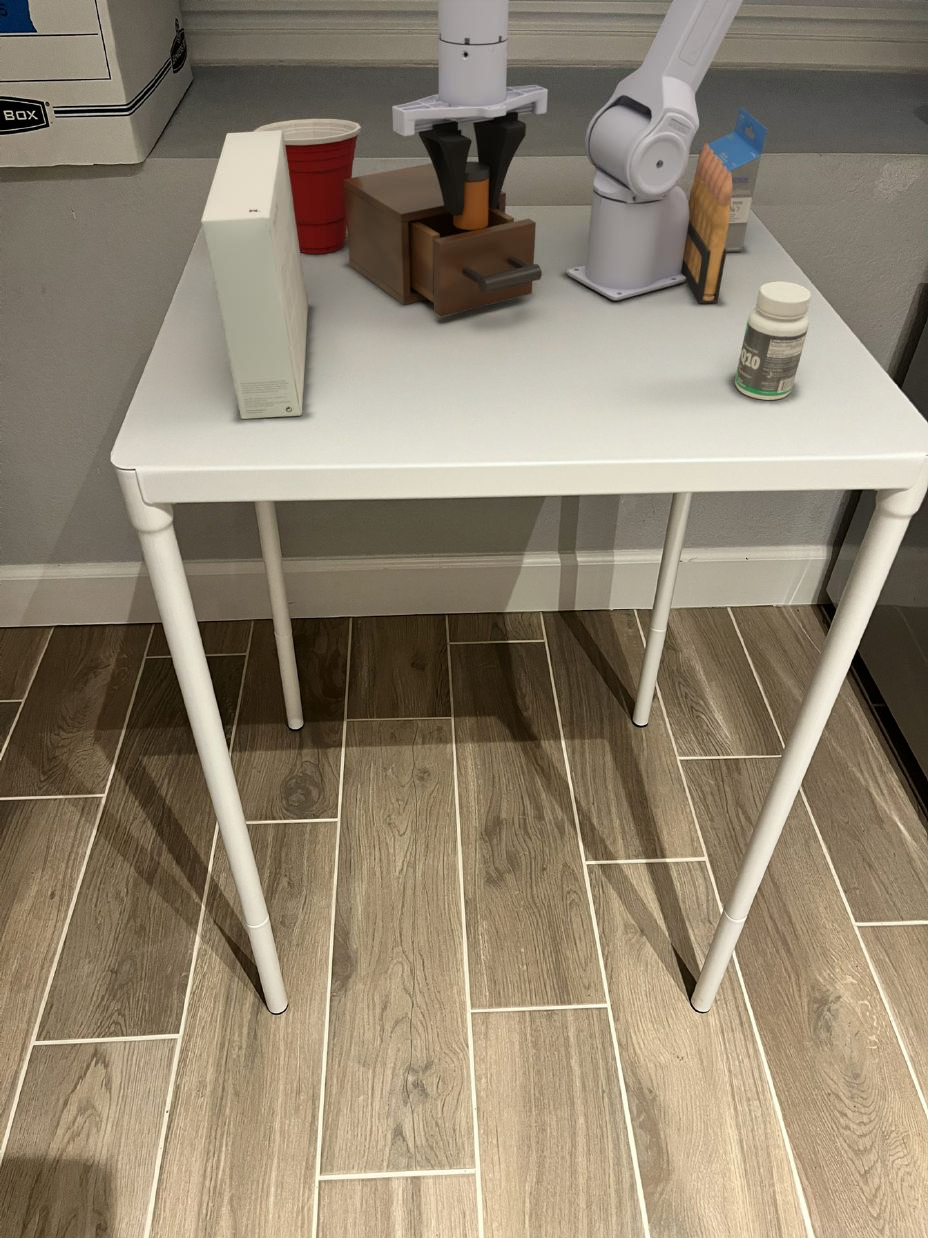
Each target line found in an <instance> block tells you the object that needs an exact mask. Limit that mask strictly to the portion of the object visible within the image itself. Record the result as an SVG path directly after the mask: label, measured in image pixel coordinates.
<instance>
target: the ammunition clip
mask: <svg viewBox="0 0 928 1238" xmlns="http://www.w3.org/2000/svg"><path fill="white" fill-rule="evenodd" d="M708 144H709V143H708V142H705V143H704V145H703V146H702V147H703V149H702V151H701V154H700V156H699V155H698V159H699V160H697V164H696V170H695V173H694V178H693V183H692V185H691V188H690V193H689V198H688V204H689V212H690V217H689V225H688V231H687V238H686V244H685V250H684V256H683V263H682V269H681V275H683V276H685V277H686V281H685V282H686V283H687V285H688V287H689V288H690V290H691V292H692V294H693V296H694V298H695V300H696V301H697V303H698V304H718V301H719V297H720V291H721V285H722V284H721V283H722V279H723V275H724V274H723V273H724V268H725V262H726V256H727V253H726V252H727V251H726V249H725V242H726V237H727V231H728V226H729V211H730V202H731V196H732V175H731V172H730V171H729V172H728V173H727V168H726V166H725V165H724V166H722V161H721V160H718V158H717V154H714V155H713V150H712V148H710V149H709V146H708Z"/></svg>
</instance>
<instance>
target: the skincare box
mask: <svg viewBox="0 0 928 1238" xmlns="http://www.w3.org/2000/svg"><path fill="white" fill-rule="evenodd" d="M200 223H201V228H202V232H203V237H204V242H205V247H206V252H207V256H208V262H209V266H210V272H211V276H212V281H213V287H214V292H215V296H216V302H217V306H218V310H219V317H220V320H221V325H222V330H223V335H224V338H225V339H224V340H225V346H226V349H227V355H228V360H229V365H230V371H231V375H232V380H233V386H234V390H235V395H236V399H237V404H238V409H239V415H240V419H241V420H243V419H244V420H245V419H246V420H247V419H262V418H263V419H264V418H276V417H277V418H278V417H299V416H301V415H302V414H303V399H304V398H303V397H304V387H305V386H304V385H305V379H304V378H305V369H306V367H305V366H306V349H307V330H308V315H309V314H308V313H309V301H308V295H307V294H308V293H307V289H306V282H305V276H304V270H303V263H302V256H301V252H300V249H299V242H298V235H297V228H296V221H295V214H294V206H293V197H292V190H291V183H290V176H289V169H288V162H287V155H286V148H285V141H284V134H283V131H282V130H277V131H258V132H254V131H243V132H241V131H240V132H227V133H226V135H225V139H224V142H223V145H222V149H221V151H220V156H219V159H218V164H217V165H216V170H215V173H214V176H213V180H212V183H211V187H210V190H209V193H208V196H207V200H206V203H205V206H204V210H203V213H202V216H201V219H200Z"/></svg>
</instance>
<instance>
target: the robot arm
mask: <svg viewBox="0 0 928 1238" xmlns="http://www.w3.org/2000/svg"><path fill="white" fill-rule="evenodd" d="M743 2H744V0H672V2H671V4H670V6H669V8H668V10H667V12H666V14H665V16H664V19H663V21H662V22H661V25H660V27H659V29H658V30H657V33H656V34H655V37H654V39H653V41H652V44H651V45H650V47H649V49H648V52H647V54H646V56H645V57H644V60H643V62H642V64H641V66H639V68H637V69H636V70H634V71H633V72H632V73H630V74H629V75H627V76H626V77H625V78H623V79H622V80H621V81H620V82H618V84H617V85H616V88H615V89H614V92H613V93H612V95H611V97H610V99H609V100H608V101H607V102H606V104H604V106H603V107H601V108H600V109H599V110H598V111H597V112H596V113H595V114H594V116H593V117H592V119H591V120H590V121H589V124H588V126H587V129H586V132H585V137H584V149H585V150H584V151H585V154H586V157H587V159H588V161H589V162H590V164H591V165H592V166H593V167H594V171H593V182H592V183H593V184H592V196H591V197H592V198H591V206H590V207H591V208H590V217H589V219H590V220H589V229H588V241H587V250H586V261H585V265H580V266H577V267H573V268H569V269H567V271H566V274H567V276H569V277H570V278H572V279H574V280H576V281H578V282H580V283H581V284H583V285H585V286H586V287H588V288H590V289H592V290H594V291H595V292H597V293H599V294H601V295H603V296H604V297H606V298H608V299H609V300H611V301H621V300H625V299H628V298H631V297H634V296H638V295H642V294H646V293H650V292H653V291H657V290H661V289H664V288H668V287H672V286H675V285H678V284H682V283H685V282H687V281H686V277H685V276H683V274H682V272H681V269H682V263H683V256H684V250H685V244H686V238H687V231H688V225H689V217H690V212H689V199H688V198H687V195H686V193H685V191H684V190H683V189H682V187H681V186H679V183H680V182H681V180H682V179H683V176H684V175H685V172H686V170H687V167H688V163H689V157H690V150H691V145H692V143H693V140H694V138H695V135H696V133H697V131H698V129H699V127H700V120H699V114H698V109H697V102H696V93H697V92H698V90H699V88H700V85H701V84H702V82H703V79H704V78H705V75H706V74H707V72H708V69H709V68H710V66H711V64H712V62H713V61H714V58H715V56H716V54H717V52H718V50H719V48H720V46H721V45H722V42H723V41H724V40H725V39H724V38H725V37H726V35H727V33H728V31H729V29H730V27H731V25H732V23H733V21H734V19H735V17H736V15H737V13H738V11H739V10H740V8H741V6H742V3H743ZM509 5H510V0H437V30H438V31H437V32H438V33H437V36H438V37H437V39H438V40H437V41H438V42H437V43H438V45H437V46H438V47H437V48H438V93H436V94H433V95H430V96H427V97H424V98H420V99H417V100H414V101H413V100H412V101H410V102H407V103H403V104H396V105H392V106H391V107H392V111H391V112H392V131H393V132H395V133H397V134H398V135H400V136H403V137H410V136H414V135H415V134H416V133H417V134H418V137H419V139H420V140H421V142H422V144H423V146H424V148H425V150H426V152H427V155H428V156H429V159H430V161H431V163H433V166H434V169H435V172H436V175H437V178H438V181H439V185H440V189H441V193H442V197H443V202H444V208H445V210H446V211H447V212H449V213H451V214H453V215H454V216H460V215H463V209H464V181H465V171H466V164H467V162H468V157H469V153H470V150H471V145H472V143H473V140H472V139H471V138H470V137H468V136H465V135H463V134H462V129H459V126H462V125H467V124H472V126H473V131H474V135H475V141H476V150H477V151H476V152H477V162H481V163H485V164H487V165H489V166H490V177H489V206H488V207H489V208H491V209H493V208H497V206H498V202H499V198H500V194H501V191H503V187H504V183H505V179H506V177H507V173H508V171H509V168H510V165H511V163H512V161H513V159H514V156H515V155H516V153H517V152H518V151H517V150H518V149H519V147H520V145H521V144H522V142H523V140H524V139H525V137H526V135H527V134H526V133H527V131H526V130H527V124H526V123H525V122H524V121H521V120H520V119H519V116H522V115H527V114H528V115H529V114H534V115H544V114H547V111H548V110H547V109H548V96H549V95H548V93H549V90H548V88H545V87H542V86H540V85H537V84H530V85H520V86H519V85H517V86H507V73H508V70H507V69H508V42H509V40H508V39H509V38H508V37H509V36H508V35H509Z"/></svg>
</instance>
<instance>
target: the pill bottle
mask: <svg viewBox="0 0 928 1238" xmlns="http://www.w3.org/2000/svg"><path fill="white" fill-rule="evenodd" d="M811 293H812V292H811V291H810V290H809V289H808V288H806V287H804V286H802V285H800V284H798V283H794V282H788V281H770V282H766V283H764V284H762V285H761V286H760V287H759V289H758V293H757V298H756V303H755V307H754V308H753V309H752V310H751V311H750V312H749V314H748V318H747V322H746V327H745V330H744V336H743V341H742V346H741V351H740V354H739V360H738V365H737V368H736V373H735V378H734V384H735V386H736V389H737V390H738V391H739V392H740V393H742V394H743V395H745V396H748V397H751V398H753V399H759V400H765V401H774V400H779V399H784V398H785V397H787V396H788V395H790V394H791V392H792V390H793V386H794V383H795V379H796V375H797V371H798V368H799V364H800V360H801V357H802V352H803V348H804V345H805V342H806V337H807V334H808V330H809V323H810V320H809V318H808V315H807V313H808V310H809V306H810V303H811V297H812V294H811Z"/></svg>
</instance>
